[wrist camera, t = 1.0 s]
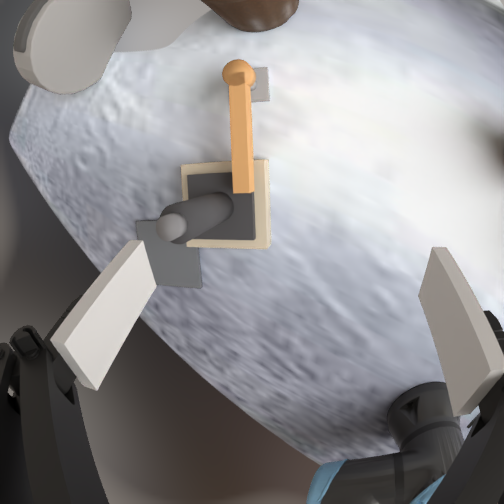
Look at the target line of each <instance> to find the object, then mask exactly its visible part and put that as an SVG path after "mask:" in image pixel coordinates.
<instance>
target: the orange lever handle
mask: <svg viewBox="0 0 504 504" xmlns="http://www.w3.org/2000/svg"><path fill="white" fill-rule="evenodd" d="M222 77H223V79H224V81H225V82H226V83H227V84H228V85H229V103H230V130H231V154H232V177H233V193H251V192H254V191H255V188H254V162H253V138H252V114H251V90H250V87H251V86H253V84H254V83H255V80H256V73H255V71H254V70H253V68H252V67H251V66H250V65H249V64H248V63H247V62H246V61H244V60H239V59H238V60H233V61H230V62H229V63H227V64H226V66H225V67H224V69H223V72H222Z"/></svg>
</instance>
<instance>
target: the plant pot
mask: <svg viewBox="0 0 504 504" xmlns="http://www.w3.org/2000/svg"><path fill="white" fill-rule="evenodd" d="M201 1H202V2H204V3H205V4H206V5H207V6H209V7H210V8H211V9H212V10H213V11H215V12H216V13H217V14H218V15H219V16H220V17H221V18H223V19H224V20H225V21H226V22H227V23H228V24H230V25H231V26H233V27H235V28H237V29H239V30H242V31H248V32H261V31H266V30H270V29H274V28H276V27H279V26H281V25H282V24H284V23H285V22H287V20H288V19H289V18H290V17H291V16H292V15H293V14H294V13H295V12H296V10H297V8H298V4H299V0H201Z"/></svg>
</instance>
